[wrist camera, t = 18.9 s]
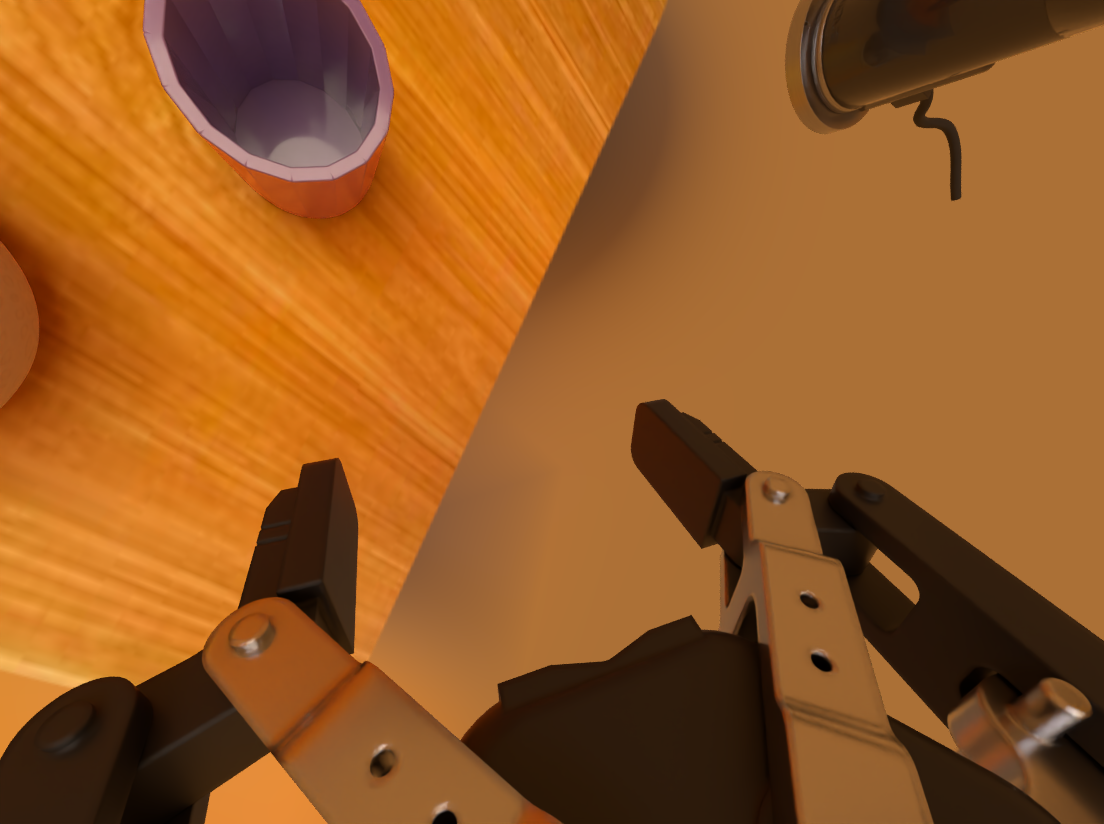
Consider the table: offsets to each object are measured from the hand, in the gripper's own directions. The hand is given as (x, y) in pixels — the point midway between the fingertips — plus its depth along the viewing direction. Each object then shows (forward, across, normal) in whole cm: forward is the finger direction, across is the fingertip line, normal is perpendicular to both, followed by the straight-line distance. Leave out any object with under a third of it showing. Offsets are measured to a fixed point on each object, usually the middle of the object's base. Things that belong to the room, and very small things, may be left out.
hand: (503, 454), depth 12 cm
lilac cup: (+19, +5, -6) cm, 21 cm away
